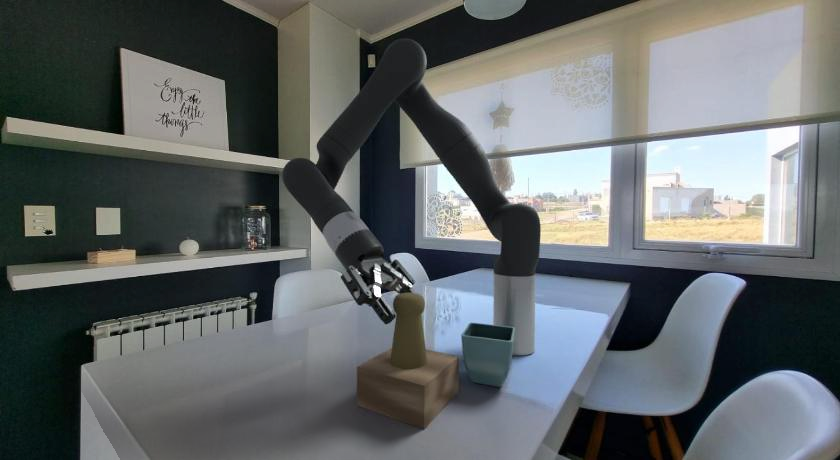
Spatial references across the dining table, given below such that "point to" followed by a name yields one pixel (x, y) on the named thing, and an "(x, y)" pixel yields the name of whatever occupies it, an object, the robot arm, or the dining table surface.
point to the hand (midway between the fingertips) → (406, 314)
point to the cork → (408, 332)
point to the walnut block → (408, 387)
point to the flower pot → (487, 352)
